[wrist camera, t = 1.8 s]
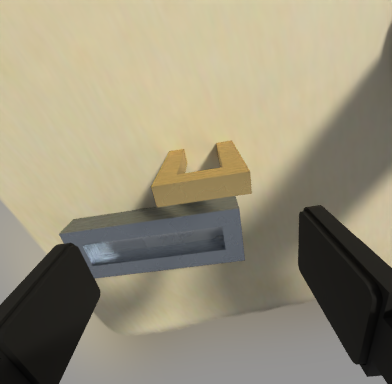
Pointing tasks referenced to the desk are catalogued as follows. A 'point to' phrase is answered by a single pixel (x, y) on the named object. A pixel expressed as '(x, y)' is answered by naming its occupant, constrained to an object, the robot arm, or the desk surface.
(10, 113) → the desk surface
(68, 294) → the robot arm
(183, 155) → the wooden u-shaped block
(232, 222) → the rail
